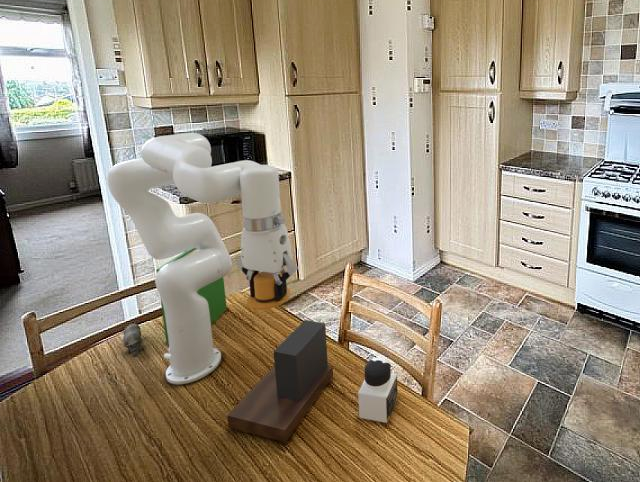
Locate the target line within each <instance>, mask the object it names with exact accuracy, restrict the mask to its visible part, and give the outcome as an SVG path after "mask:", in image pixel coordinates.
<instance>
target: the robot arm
mask: <svg viewBox="0 0 640 482" xmlns="http://www.w3.org/2000/svg"><path fill="white" fill-rule="evenodd" d="M141 147H142V148H141V150H140V158H134V159H130V160H125V161H122V162H120V163H117V164H115V165H113V166H112V167H111V168H110V169H109V171H108V173H107V178H106V180H107V186H108V190H109V192H110V194H111V195H112V198H113V199H114V201H115V202H116V203H117V204H118V205H119V206H120V207H121V208H122V210H124V211H125V213H126V214H127V215H128V216H129V217H130V219H131V221H132V223H133V226H134V227H135V229H136V231H137V233H138V235H139V238H140V240H141V241H142V244H143V245H144V247H145V249H146V251H147V253H148V254H149V256H150V257H151V258H153V259H154V260H159V261H160V260H166V259H169V258H172V257H176V256H179V255H180V254H182V253H184V252H185V251H188V250H190V249H193V248H197V250H198V252H195V253H193V254H190V255H187V256H185V257H182V258H180V259H178V260H175V261H173V262H171V263H169V264H167V265H165V266H164V267H163V268H161V269H160V270H159V271H158V273H157V272H156V275H155V277H154V278H155V279H154V282H155V287H156V290H157V292H158V294H159V298H160V297H161V299H160V301H161V300H162V303H163V307H164V312H165V319H166V325H167V333H168V340H169V344H168V346H169V347H168V349H167V352H166V353H164V355H163V359H165V360H168V361H169V366H168V367H167V368H166V371H165V378H166V381H167V382H168V383H170V384H172V385H185V384H190V383H193V382H196V381H198V380H201V379H203V378H205V377H206V376H208V375H209V374H211V373H212V372H213V371H214V370H216V368H217V367H218V366H219V365H220V363H221V361H222V352H221V351H220V350H219V349H218V348H216V347H214V339H213V331H212V324H211V322H210V313H209V305H208V302H207V300H206V299H205V298H204V297H203V296H201V295H199V294H197V291H198V290H199V289H201V288H203V287H204V286H206V285H208V284H210V283H212V282H214V281H216V280H218V279H220V278H222V277H223V278H224V277H226V276H227V275H228V274H229V273H230V272H231V270H232V266H233V261H232V258H231V255H230V253H229V250H228V249H227V246H226V245H225V243H224V241H223V238H222V237H221V235H220V232H219V231H218V229H217V227H216V225H215V223H214V221H213V220H212V219H211V218H210V217H209V216H208V215H207V214H204V213H202V212H193V213H189V214H185V215H183V216H177V215H176V214H175V212H174V211H173V208H172V206H171V204H170V203H169V202H168V201H167V200H166V199H164V198H162V197H161V196H159V195H158V194H155V193H153V192H150V191H149V190H152V189H157V188H162V187H166V186H170V185H175V187H176V189H177V190H178V192H179V193H180V194H182V196H184V197H186V198H189V199H191V200H193V201H196V202H200V203H204V204H213V203H217V202H221V201H224V200H227V199H230V198H235V197H237V196H240V197H241V208H242V220H243V228H242V230H241V236H240V256H239V258H238V259H237V260H236V261H235V264H236V265H237V266H238V267H239V268H240V270H241V272H242V273H243V274H244V275H245V279H246V281H248V282H249V294H250V295H251V297H255V289H254V277H255V276H256V275H257V274H258V273H260V272H270V273H273V276H274V278H275V281H276V284H275V285H274V290H275V300H276V301H279V300H281V299H282V298H283V297H284V296H285V295H286V294H287V288H288V285H287V284H288V283H287V281H288V279H289V278H290V277H291V276H292V275H293V274H295V272H297V271H298V269H299V267H298V266H297V265H296V263H295V262H294V261H293V254H292V246H291V240H290V236H289V232H288V229H287V227H286V224H285V223H286V218H285V217H283V216H282V206H281V193H280V192H281V191H280V190H281V189H280V177H279V171H278V169H277V167H275V166H274V165H270V164H261V163H258V162H256V161H253V160H247V159H245V160H238V161H234V162H228V163H224V164H218V165H213V159H212V155H211V154H212V147H211V144H210V141H209V140H208V138H207V137H205V135H203V134H201V133H197V132H185V133H177V134H168V135H160V136H156V137H153V138H151V139H149V140H146V142H145V143H144V144H143V145H142V146H141ZM212 165H213V166H212ZM279 272H281V277H280V274H279ZM250 295H249V296H250Z"/></svg>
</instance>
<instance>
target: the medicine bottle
mask: <svg viewBox="0 0 640 482" xmlns="http://www.w3.org/2000/svg"><path fill="white" fill-rule="evenodd" d="M391 367H392V366H391V362H390V361H389V359H387V358H385V357H381V356H378V357H374V358H371V359H370V360H368V362H366V364H365V366H364V380H363V382H362V384H361V386H360V387H359V389H358V391H357V395H358V398H357V399H358V418H360V419H364V420H368V421H373V422H379V423H384V424H388V423H389V421H390V418H391V416H392V413H393V411H394V409H395V406H396V404H397V401H398V398H399V397H398V374H397V373H393V372H391V371H392V370H391V369H392V368H391Z"/></svg>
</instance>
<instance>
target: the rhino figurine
mask: <svg viewBox="0 0 640 482" xmlns="http://www.w3.org/2000/svg"><path fill="white" fill-rule="evenodd" d="M122 337H123V338H122V341H123V346H124V347H125V348H126V349H127V350H126V351H125V352H126V353H127V354H131V355H132V357H133V358H137V357H138V356H139V354H140V351H142V349H143V347H142V346H141V343H142V340H143V339H142V331H141V327H140V325H139V324H137V323H130V324H129V325H127V327H125V328H124V330H123V336H122Z"/></svg>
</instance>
